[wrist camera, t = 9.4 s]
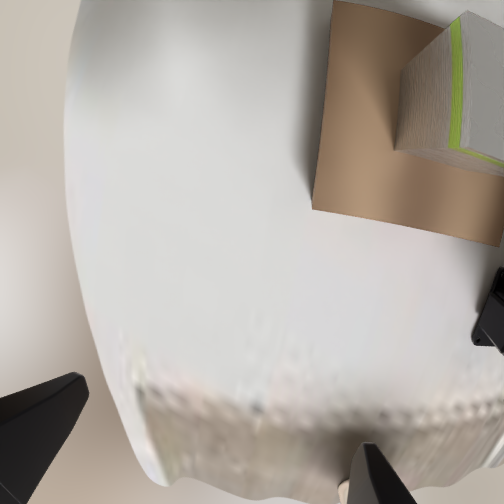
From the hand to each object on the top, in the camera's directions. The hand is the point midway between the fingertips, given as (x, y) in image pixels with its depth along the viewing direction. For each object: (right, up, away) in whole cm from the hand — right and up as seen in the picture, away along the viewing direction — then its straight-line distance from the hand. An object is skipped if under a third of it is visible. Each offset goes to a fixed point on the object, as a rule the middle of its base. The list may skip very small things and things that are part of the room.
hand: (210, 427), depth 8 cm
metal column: (+11, +12, +5) cm, 17 cm away
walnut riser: (+11, +13, +8) cm, 19 cm away
